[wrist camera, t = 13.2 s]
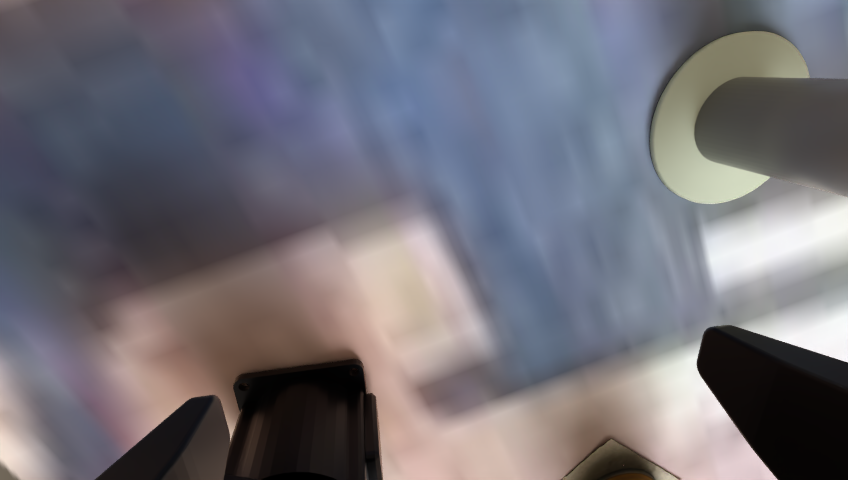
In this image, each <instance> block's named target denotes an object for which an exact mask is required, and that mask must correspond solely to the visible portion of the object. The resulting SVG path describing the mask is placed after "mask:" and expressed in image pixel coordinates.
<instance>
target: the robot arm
mask: <svg viewBox="0 0 848 480" xmlns="http://www.w3.org/2000/svg"><path fill="white" fill-rule="evenodd" d="M352 368H357V369H358V370H356V371H351V370H350V369H352ZM697 368H698V371H699V374H700V376H701V377H702V379H703V380H704V381H705V383H706V384H707V386H708V387H709V388H710V390H711V391H712V393H713V394H714V396H715V397H716V398H717V400H718V401H719V403H720V404H721V406H722V407H723V408H724V410H725V411H726V413H727V414H728V416H729V417H730V418H731V420H732V421H733V423H734V424H735V425H736V427H737V428H738V430H739V431H740V433H741V434H742V435H743V437H744V438H745V440H746V441H747V442H748V444H749V445H750V446H751V448H752V449H753V450H754V451H755V453H756V454H757V455H758V456H759V458H760V459H761V460H762V461H763V463H764V464H765V465H766V466H767V467H768V469H769V470H770V471H771V472H772V473H773V475H774V476H775V477H776V478H777V479H778V480H848V363H847V362H844V361H841V360H838V359H835V358H832V357H829V356H826V355H822V354H819V353H816V352H813V351H810V350H807V349H804V348H801V347H797V346H794V345H791V344H788V343H785V342H782V341H779V340H776V339H773V338H769V337H766V336H763V335H760V334H757V333H754V332H751V331H748V330H744V329H741V328H738V327H735V326H732V325H722V326H714V327H710V328H708V329H706V331H705V332H704V334H703V338H702V342H701V346H700V350H699V354H698V359H697ZM241 383H246V384H248V386H244V385H242V384H241ZM233 386H234V392H235V396H236V399H237V403H238V407H239V411H240V414H239V417H238V420H237V423H236V426H235V429H234V432H233V435H232V438H231V441H230V434H229V429H228V425H227V422H226V418H225V415H224V411H223V408H222V405H221V401H220V399H219V398H218V397H217V396H215V395H208V396H201V397H194V398H191V399H189V400H188V401H186V402H185V403H184V404H183V405H182V406H180V407H179V408H178V409H177V410H176V411H175V412H173V413H172V414H171V415H170V416H169V417H168V418H166V419H165V420H164V421H163V422H162V423H161V424H159V425H158V426H157V427H156V428H155V429H154V430H152V431H151V432H150V433H149V434H148V435H146V436H145V437H144V438H143V439H142V440H141V441H139V442H138V443H137V444H136V445H135V446H134V447H132V448H131V449H130V450H129V451H128V452H127V453H125V454H124V455H123V456H122V457H121V458H120V459H118V460H117V461H116V462H115V463H114V464H113V465H111V466H110V467H109V468H108V469H107V470H105V471H104V472H103V473H102V474H101V475H100V476H98V477H97V478H96V479H95V480H383V472H382V458H381V444H380V430H379V421H378V413H377V404H376V396H374V395H373V394H372V393H368V394H367V391H366V382H365V374H364V366H363V363H362V362H361V361H359V360H357V359H352V360H344V361H337V362H329V363H322V364H314V365H307V366H299V367H292V368H284V369H277V370H269V371H262V372H254V373H247V374H242V375H239V376H238V377H237V378H236V380H235V383H234V385H233Z"/></svg>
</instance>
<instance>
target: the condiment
mask: <svg viewBox="0 0 848 480" xmlns="http://www.w3.org/2000/svg"><path fill="white" fill-rule="evenodd" d="M623 464H624V466H623ZM562 480H679V479H677V478H676V477H674V476H673V475H671V474H669V473H668V472H666V471H664V470H663V469H661V468H660V467H658V466H656V465H655V464H653V463H651V462H649V461H648V460H646V459H644V458H642V457H640V456H639V455H638V454H636V453H634V452H633V451H631V450H630V449H628V448H626V447H624V446H622V445H620V444H619V443H617V442H616V441H614V440H613V439H610V440H609V441H608V442H606V443H605V444H604V445H603V446H602V447H599V448H598V449H597V450H596V451H595V452H594V453H592V454H591V455H590V456H589V457H588V458H587V459H586V460H585V461H583V462H582V463H580V464H579V465H578V466H577V467H576V468H575V469H574V470H573V471H572V472H571V473H570V474H569V475H568V476H566V477H564V478H563V479H562Z"/></svg>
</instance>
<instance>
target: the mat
mask: <svg viewBox="0 0 848 480" xmlns="http://www.w3.org/2000/svg"><path fill="white" fill-rule="evenodd" d="M737 77H781V78H810V77H809V72H808V69H807V65H806V63H805V61H804V59H803V57H802V55H801V54H800V52H799V51H798V50H797V48H796V47H795V46H794V45H793V44H792V43H790V42H789V41H788V40H786V39H785V38H783V37H781V36H779V35H776V34H774V33H769V32H765V31H748V32H740V33H734V34H730V35H727V36H724V37H721V38H719V39H717V40H714V41H712V42H711V43H709V44H707V45H706V46H704V47H702V48H701V49H700V50H698V51H697V52H696V53H694V54H693V55H692V56H691V57H690V58H689V59H688V60H687V61H686V62H685V63H684V64H683V65H682V66H681V67H680V68H679V69H678V70H677V72H676V73H675V74H674V76H673V77H672V78H671V80H670V81H669V83H668V84H667V86H666V88H665V90H664V91H663V93H662V95H661V97H660V100H659V102H658V104H657V107H656V110H655V113H654V116H653V120H652V125H651V132H650V152H651V158H652V162H653V165H654V168H655V170H656V172H657V175H658V177H659V178H660V180H661V181H662V182H663V184H664V185H665V186H666V187H667V188H668V189H669V190H670V191H672V192H673V193H675V194H676V195H678V196H680V197H682V198H684V199H687V200H690V201H693V202H697V203H703V204H717V203H723V202H727V201H731V200H734V199H737V198H739V197H741V196H744V195H746V194H747V193H749V192H751V191H753V190H754V189H756V188H757V187H759V186H760V185H762V184H763V183H764V182H765V181H766V180H768V179H769V178H770V177H769V176H765V175H761V174H757V173H753V172H750V171H746V170H742V169H738V168H734V167H730V166H727V165H723V164H719V163H715V162H712V161H710V160H708V159H706V158H705V157H704V156H703V155H702V154H701V153H700V152H699V150H698V148H697V146H696V142H695V135H694V133H695V123H696V119H697V116H698V113H699V111H700V109H701V107H702V105H703V104H704V102H705V101H706V99H707V98H708V97H709V95H710V94H711V93H712V92H713V91H714V90H715V89H716V88H718V87H719V86H720V85H722V84H723V83H725V82H727V81H729V80H731V79H734V78H737Z"/></svg>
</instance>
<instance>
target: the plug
mask: <svg viewBox="0 0 848 480" xmlns="http://www.w3.org/2000/svg"><path fill="white" fill-rule="evenodd" d="M694 135H695V142H696V146H697V148H698V150H699V152H700V153H701V154H702V155H703V156H704V157H705V158H706V159H708V160H710V161H712V162H715V163H719V164H723V165H727V166H730V167H734V168H738V169H742V170H746V171H750V172H753V173H757V174H761V175H765V176H769V177H773V178H776V179H780V180H784V181H788V182H792V183H795V184H799V185H803V186H807V187H811V188H815V189H818V190H822V191H826V192H830V193H834V194H838V195H841V196H845V197H848V79H824V78H781V77H737V78H734V79H731V80H729V81H727V82H725V83H723V84H722V85H720V86H719V87H718V88H716V89H715V90H714V91H713V92H712V93H711V94H710V95H709V97H708V98H707V99H706V101H705V102H704V104H703V105H702V107H701V109H700V111H699V113H698V116H697V119H696V123H695V133H694Z"/></svg>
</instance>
